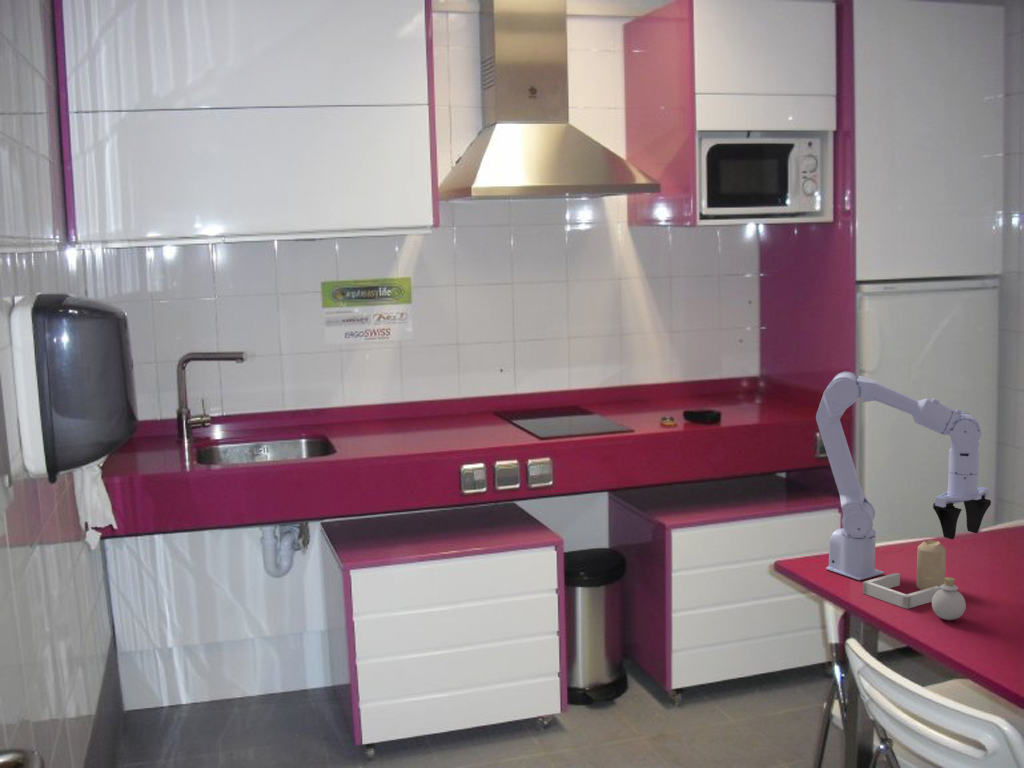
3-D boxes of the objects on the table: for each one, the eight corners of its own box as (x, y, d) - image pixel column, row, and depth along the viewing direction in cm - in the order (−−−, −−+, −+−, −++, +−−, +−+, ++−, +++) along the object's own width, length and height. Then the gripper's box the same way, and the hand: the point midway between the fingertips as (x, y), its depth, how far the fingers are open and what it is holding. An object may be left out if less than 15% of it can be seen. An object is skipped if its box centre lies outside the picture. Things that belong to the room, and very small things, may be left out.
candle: (916, 591, 216) (918, 544, 215) (915, 582, 222) (917, 536, 220) (945, 593, 215) (947, 546, 213) (943, 584, 220) (945, 538, 218)
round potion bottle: (967, 625, 197) (969, 575, 196) (925, 623, 199) (927, 573, 198) (962, 614, 203) (963, 564, 202) (921, 612, 205) (922, 563, 203)
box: (863, 593, 216) (863, 581, 216) (895, 584, 221) (896, 572, 221) (907, 609, 207) (907, 596, 206) (940, 599, 211) (940, 587, 211)
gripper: (956, 480, 210) (954, 545, 212) (1002, 470, 218) (1000, 533, 219) (927, 473, 217) (925, 537, 219) (973, 464, 224) (970, 526, 226)
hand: (960, 535), depth 219 cm, fingers open, 7 cm apart
